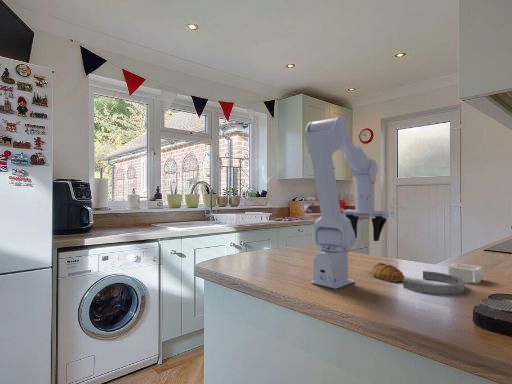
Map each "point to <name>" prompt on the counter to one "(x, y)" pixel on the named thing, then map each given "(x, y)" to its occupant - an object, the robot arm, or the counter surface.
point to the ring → (454, 288)
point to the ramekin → (466, 272)
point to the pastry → (387, 272)
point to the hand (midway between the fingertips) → (364, 239)
